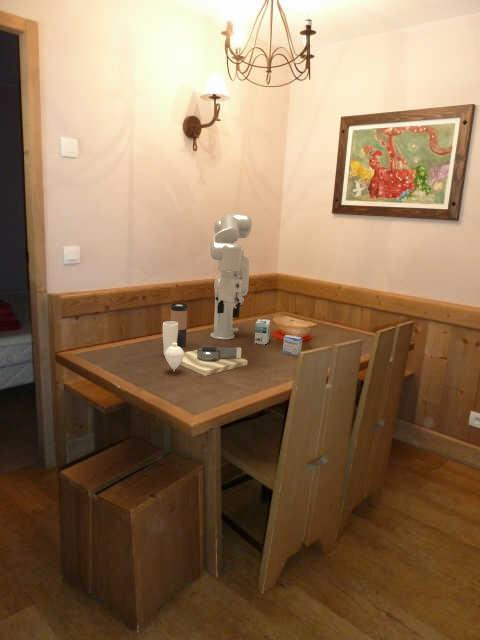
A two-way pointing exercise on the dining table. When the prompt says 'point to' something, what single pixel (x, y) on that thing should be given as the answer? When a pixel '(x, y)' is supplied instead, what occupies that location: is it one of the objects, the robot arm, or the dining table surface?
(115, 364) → the dining table surface
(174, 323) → the drinking glass
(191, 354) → the board
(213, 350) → the silver piece
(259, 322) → the light bulb box
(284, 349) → the medicine box
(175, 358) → the spinning top
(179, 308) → the travel mug
